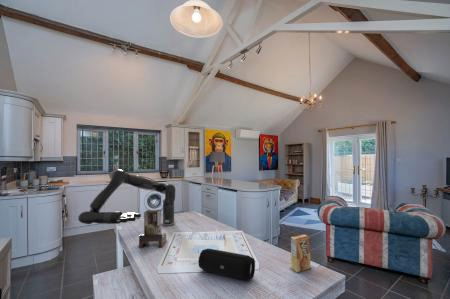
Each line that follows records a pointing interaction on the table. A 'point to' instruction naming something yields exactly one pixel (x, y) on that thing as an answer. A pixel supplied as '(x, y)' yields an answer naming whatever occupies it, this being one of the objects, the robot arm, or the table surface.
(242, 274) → the portable speaker
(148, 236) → the bench
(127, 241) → the table surface
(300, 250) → the candy box
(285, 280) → the table surface
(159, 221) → the coffee box
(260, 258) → the table surface
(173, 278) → the table surface
